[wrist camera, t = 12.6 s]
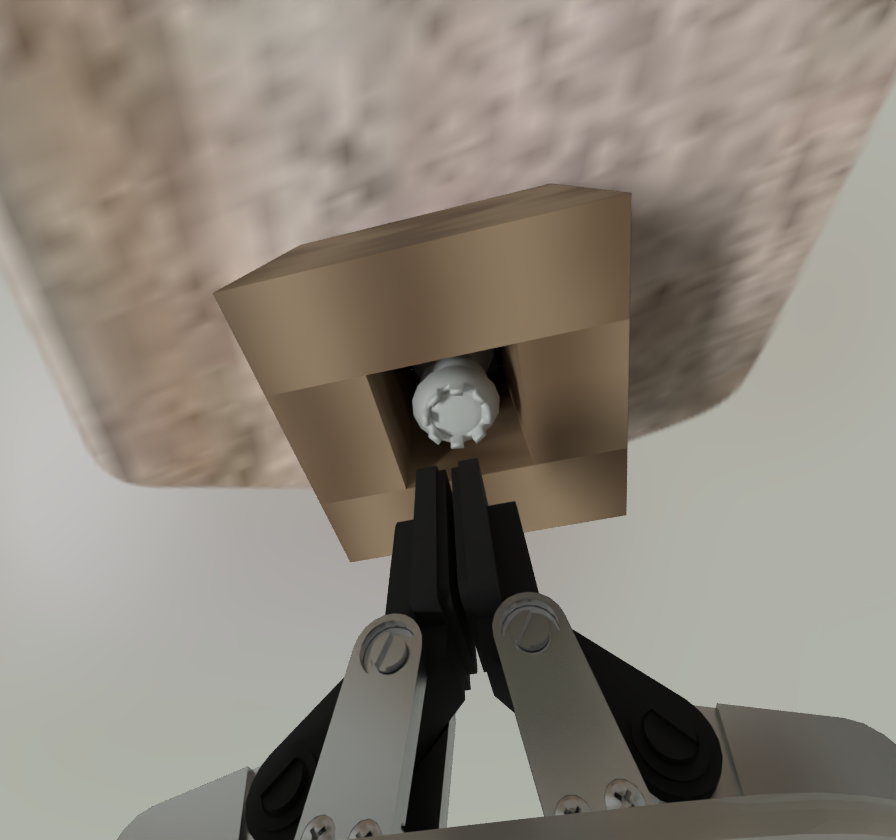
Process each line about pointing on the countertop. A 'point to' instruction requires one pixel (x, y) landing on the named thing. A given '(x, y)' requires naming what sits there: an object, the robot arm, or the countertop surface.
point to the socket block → (452, 355)
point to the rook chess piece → (456, 398)
